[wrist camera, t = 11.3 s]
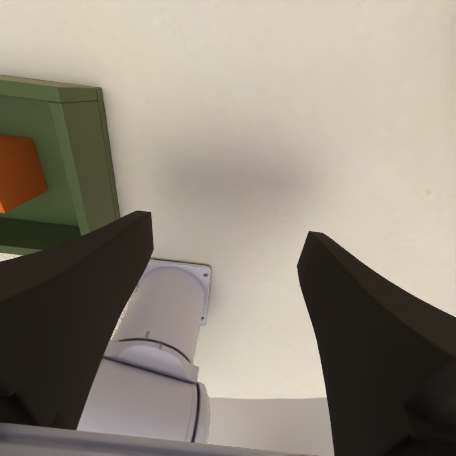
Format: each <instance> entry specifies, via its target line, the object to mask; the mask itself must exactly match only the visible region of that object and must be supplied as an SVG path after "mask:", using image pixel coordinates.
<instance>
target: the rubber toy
mask: <svg viewBox="0 0 456 456" xmlns="http://www.w3.org/2000/svg"><path fill="white" fill-rule="evenodd" d="M46 191H48V189H47V186H46V182H45V179H44V176H43V173H42V169H41V166H40V163H39V159H38V156H37V153H36V149H35V146H34V143H33V139H32V138H24V137H16V136H8V135H0V213H6V212H8V211H10V210H12V209H14V208H16V207H18V206H19V205H21V204H23V203H25V202H27V201H29V200H31V199H33V198H35V197H37V196H39V195H41V194H43V193H44V192H46Z"/></svg>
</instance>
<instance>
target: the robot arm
mask: <svg viewBox="0 0 456 456" xmlns="http://www.w3.org/2000/svg"><path fill="white" fill-rule="evenodd" d="M153 249H154V247H153V232H152V218H151V212H145V211H135V212H133V213H130V214H128V215H126V216H124V217H122V218H120V219H118V220H116V221H114V222H111V223H109V224H107V225H105V226H103V227H101V228H99V229H97V230H94V231H92V232H90V233H87V234H85V235H83V236H80V237H78V238H76V239H73V240H71V241H68V242H65V243H63V244H60V245H57V246H54V247H51V248H48V249H45V250H42V251H38V252H35V253H31V254H27V255H24V256H20V257H17V258H13V259H9V260H5V261H1V262H0V456H316V455H306V454H296V453H287V452H277V451H268V450H258V449H248V448H239V447H230V446H220V445H211V444H206V443H207V437H208V432H209V424H210V401H209V397H208V394H207V390H206V388H205V385H204V384H203V383H201V382H197V378H198V371H199V367H198V366H195V365H193V361H194V356H195V350H196V344H197V338H198V332H199V326H203V325H205V324H206V317H207V306H208V296H209V285H210V275H211V268H210V267H209V266H205V265H197V264H188V263H179V262H170V261H162V260H153V259H150V257H151V255H152V252H153ZM297 269H298V276H299V282H300V286H301V290H302V293H303V296H304V300H305V303H306V306H307V309H308V312H309V316H310V319H311V322H312V325H313V328H314V332H315V336H316V339H317V344H318V349H319V354H320V359H321V364H322V370H323V376H324V381H325V387H326V394H327V400H328V407H329V414H330V421H331V430H332V438H333V446H334V455H335V456H456V317H454V316H452V315H450V314H448V313H446V312H444V311H442V310H440V309H438V308H436V307H434V306H432V305H430V304H428V303H426V302H424V301H422V300H420V299H419V298H417V297H415V296H413V295H411V294H410V293H408V292H406V291H405V290H403V289H401V288H400V287H398V286H396V285H395V284H393V283H391V282H390V281H388V280H387V279H385V278H384V277H382V276H381V275H379V274H378V273H376V272H375V271H373V270H372V269H370V268H369V267H368V266H366V265H365V264H363V263H362V262H361V261H359V260H358V259H357V258H355V257H354V256H353V255H352V254H350V253H349V252H348V251H346V250H345V249H344V248H342V247H341V246H340V245H339V244H337V243H336V242H335V241H333V240H332V239H331V238H329V237H328V236H327V235H325V234H323V233H320V232H312V231H309V232H308V235H307V238H306V241H305V244H304V247H303V250H302V253H301V256H300V258H299V261H298V264H297ZM204 273H207V274H204ZM137 284H138V290H137V292H136V294H135V296H134V297H133V299H132V301H131V303H130V305H129V307H128V309H127V311H126V313H125V315H124V317H123V319H122V321H121V323H120V325H119V327H118V329H117V331H116V332H115V334H114V336H113V338H112V340H110V338H111V336H112V333H113V331H114V329H115V326H116V324H117V322H118V319H119V317H120V315H121V313H122V311H123V309H124V307H125V305H126V303H127V302H128V300H129V298H130V296H131V295H132V293H133V291H134V289H135V287H136V286H137Z"/></svg>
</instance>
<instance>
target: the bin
mask: <svg viewBox="0 0 456 456" xmlns="http://www.w3.org/2000/svg"><path fill="white" fill-rule="evenodd" d="M0 135H8V136H16V137H24V138H32V139H33V143H34V146H35V149H36V153H37V156H38V159H39V163H40V166H41V169H42V173H43V176H44V179H45V182H46V186H47V189H48V191H46V192H44V193H43V194H41V195H39V196H37V197H35V198H33V199H31V200H29V201H27V202H25V203H23V204H21V205H19V206H18V207H16V208H14V209H12V210H10V211H8V212H6V213H0V253H8V254H16V255H27V254H31V253H35V252H38V251H42V250H45V249H48V248H51V247H54V246H57V245H60V244H63V243H65V242H68V241H71V240H73V239H76V238H78V237H80V236H83V235H85V234H87V233H90V232H92V231H94V230H97V229H99V228H101V227H103V226H105V225H107V224H109V223H111V222H114V221H116V220H118V219H120V216H119V209H118V202H117V195H116V188H115V181H114V174H113V167H112V160H111V153H110V146H109V139H108V132H107V125H106V118H105V111H104V104H103V97H102V90H101V88H98V87H91V86H83V85H75V84H67V83H59V82H51V81H44V80H36V79H28V78H20V77H12V76H4V75H0Z"/></svg>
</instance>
